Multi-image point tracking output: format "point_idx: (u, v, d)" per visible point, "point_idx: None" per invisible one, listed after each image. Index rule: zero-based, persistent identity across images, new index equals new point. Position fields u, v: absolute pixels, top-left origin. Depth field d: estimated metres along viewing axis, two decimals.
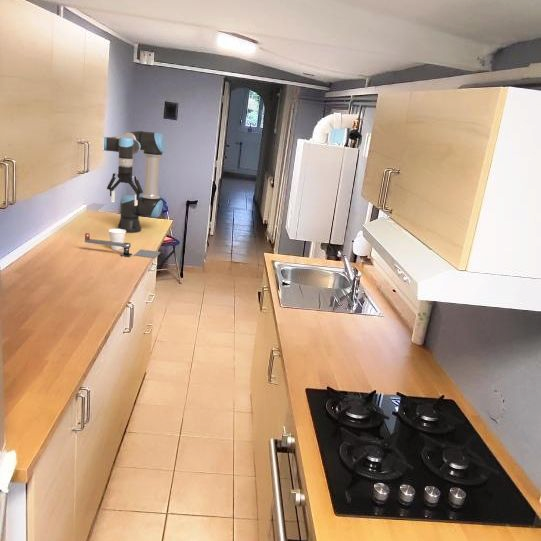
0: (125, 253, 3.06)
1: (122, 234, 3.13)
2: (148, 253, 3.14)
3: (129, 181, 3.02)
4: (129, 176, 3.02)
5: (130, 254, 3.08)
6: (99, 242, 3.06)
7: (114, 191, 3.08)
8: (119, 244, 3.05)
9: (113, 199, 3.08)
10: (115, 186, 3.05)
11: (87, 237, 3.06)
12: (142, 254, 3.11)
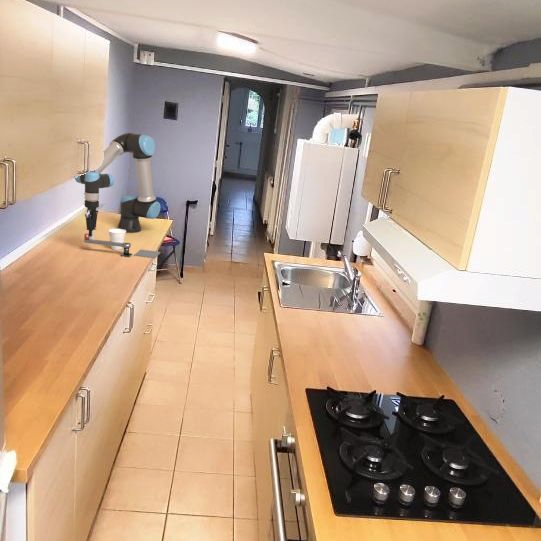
0: (125, 253, 3.06)
1: (122, 234, 3.13)
2: (148, 253, 3.14)
3: None
4: None
5: (130, 254, 3.08)
6: (99, 242, 3.05)
7: None
8: (119, 244, 3.05)
9: None
10: None
11: (87, 237, 3.05)
12: (142, 254, 3.11)
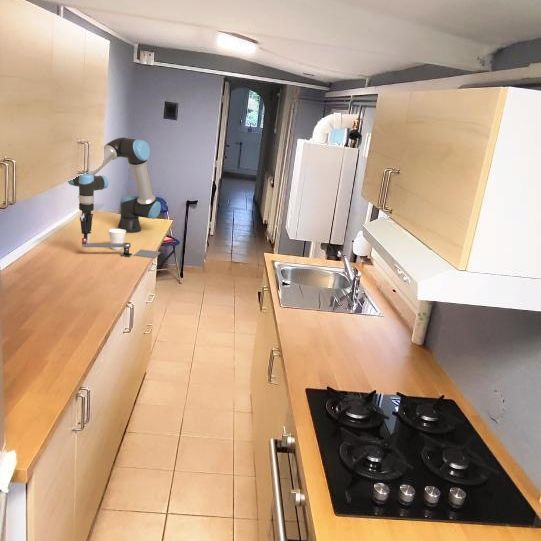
0: (125, 253, 3.06)
1: (122, 234, 3.13)
2: (148, 253, 3.14)
3: None
4: None
5: (130, 254, 3.08)
6: (98, 245, 3.00)
7: None
8: (119, 245, 3.04)
9: None
10: None
11: (85, 242, 2.96)
12: (142, 254, 3.11)
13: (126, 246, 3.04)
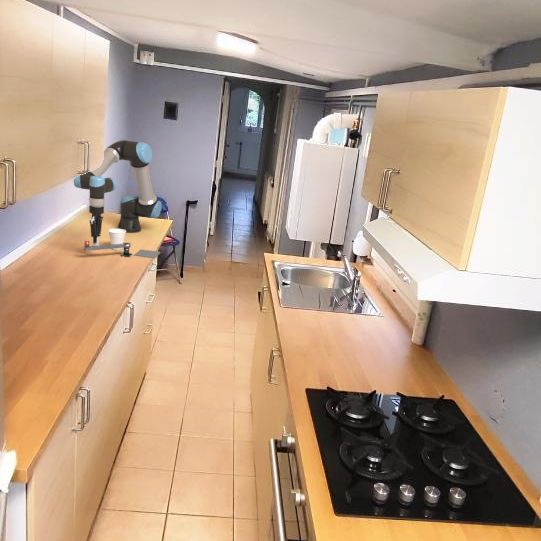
0: (125, 253, 3.06)
1: (122, 234, 3.13)
2: (148, 253, 3.14)
3: None
4: None
5: (130, 254, 3.08)
6: (101, 247, 2.96)
7: None
8: (121, 245, 3.03)
9: None
10: None
11: (88, 245, 2.91)
12: (142, 254, 3.11)
13: (127, 246, 3.04)
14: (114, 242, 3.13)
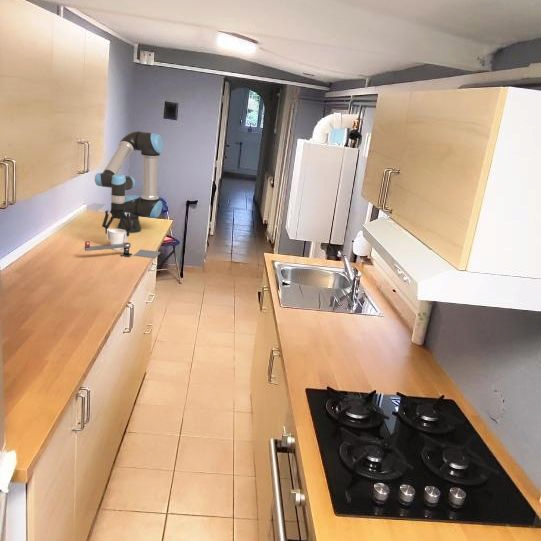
0: (125, 253, 3.06)
1: (122, 234, 3.13)
2: (148, 253, 3.14)
3: (121, 217, 3.11)
4: (122, 212, 3.11)
5: (130, 254, 3.08)
6: (101, 248, 2.96)
7: (109, 228, 3.16)
8: (121, 245, 3.03)
9: (108, 236, 3.16)
10: (110, 223, 3.13)
11: (89, 245, 2.91)
12: (142, 254, 3.11)
13: (127, 246, 3.05)
14: (114, 242, 3.13)
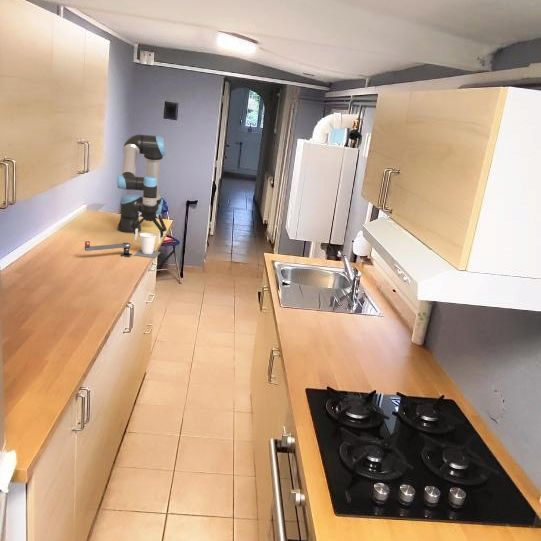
0: (125, 253, 3.06)
1: (153, 238, 3.09)
2: None
3: (153, 219, 3.07)
4: (153, 214, 3.07)
5: (130, 254, 3.08)
6: (101, 248, 2.96)
7: (137, 229, 3.12)
8: (121, 245, 3.03)
9: (136, 237, 3.12)
10: (139, 224, 3.09)
11: (89, 245, 2.91)
12: (142, 254, 3.11)
13: (127, 246, 3.05)
14: (145, 246, 3.10)
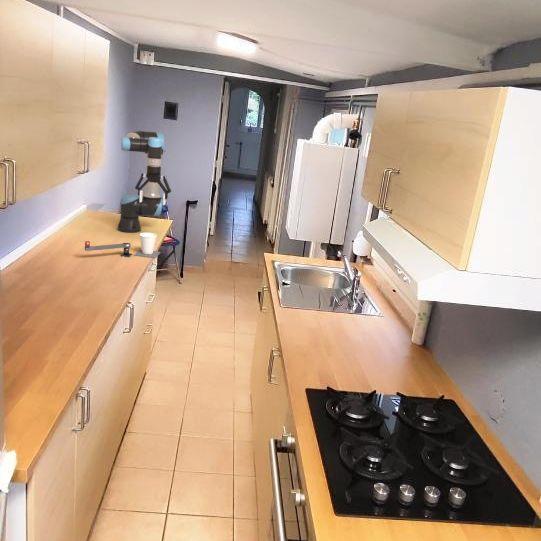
0: (125, 253, 3.06)
1: (153, 238, 3.09)
2: None
3: (158, 181, 3.06)
4: (158, 176, 3.06)
5: (130, 254, 3.08)
6: (101, 248, 2.96)
7: (142, 191, 3.11)
8: (121, 245, 3.03)
9: (141, 199, 3.12)
10: (143, 186, 3.09)
11: (89, 245, 2.91)
12: (142, 254, 3.11)
13: (127, 246, 3.05)
14: (145, 246, 3.10)
